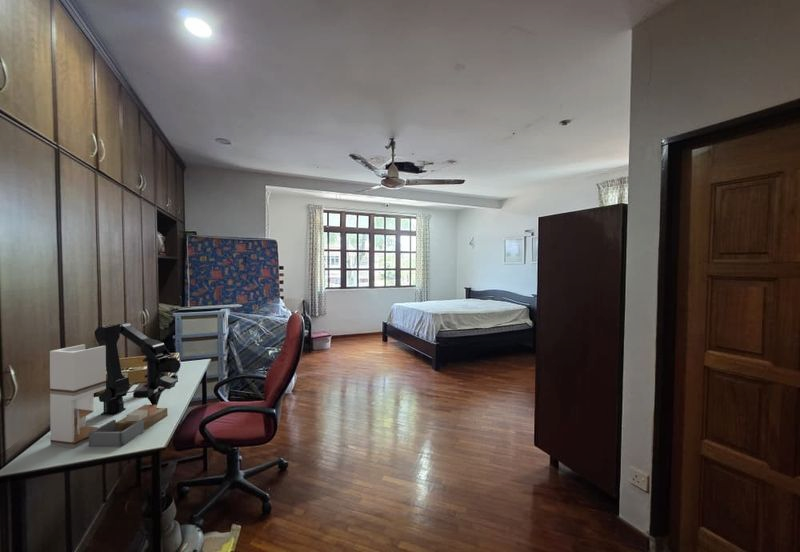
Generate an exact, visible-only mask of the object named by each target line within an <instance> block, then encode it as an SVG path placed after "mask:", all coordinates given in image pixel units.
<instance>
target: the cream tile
mask: <svg viewBox="0 0 800 552" xmlns="http://www.w3.org/2000/svg"><path fill="white" fill-rule="evenodd" d="M146 416H148V410H137V409H134V410H133V411H131V412H129V413H127V414H126V416H125V417H126V421H140V420H142V419H143V418H145V417H146Z"/></svg>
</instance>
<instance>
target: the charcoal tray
mask: <svg viewBox="0 0 800 552" xmlns="http://www.w3.org/2000/svg"><path fill="white" fill-rule="evenodd" d="M116 422H117V420H116V419H112V420H110V421H108V422H106V423H104V424H103V425H101V426H99V428H97V429H95V430H93V431H92V432H90V433H89V442H88V447H112V448H113V447H114V448H117V447H118V448H119V447H123V446H125V445H127V444H128V443H129V442H131V441H132V440H134V439H136V438H137V437H139V436H140V435H142V434H143V433H144V432H145V431H144V420H140V421H138V422H137V423H135V424H133V425H132V426H130V427H129V428H127V429H125V430H124V431H116ZM138 435H139V436H138ZM135 437H136V438H135Z"/></svg>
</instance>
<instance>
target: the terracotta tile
mask: <svg viewBox="0 0 800 552" xmlns="http://www.w3.org/2000/svg"><path fill="white" fill-rule="evenodd" d="M157 406H158V404H157V405H152V404H143V405H142V406H140V407H138V408H137V409H136V410H148V415H150V414H151V413H153V412H155V411H156V410H157V408H158V407H157Z"/></svg>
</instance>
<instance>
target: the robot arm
mask: <svg viewBox="0 0 800 552" xmlns="http://www.w3.org/2000/svg"><path fill="white" fill-rule="evenodd" d="M121 335H122V336H123V337H125V338H127V339H128V340H129V341H130V342H132V343H133V344H135V346H138V348H140V352H141V353H142V354H143V355H144V356H145V358H143V359H142V362H145V363H146V374H144V379H145V378H146V383H147V384H146V383H144V385H145V387H148V388H142V387H141V388H139V389H137V390H134V391H133V393H132V398H134V399H148V401H149V402H150V405H157V406H158V404H159V400H160V397H161V396H162V393H163V392H165V390H171V389H172V388H174V387H175V386H176V384H177V383H179V377H178V374H175V373H177V372H179V370H180V368H181V366H182V365H181V362H180V359H179V360H178V358H177V356H172V355H171V353H170V351H169V350H168V348H167V346H166V345H165V343H164V342H162V341H160V340H158V339H153V338H150V337H148V336H147V335H145V334H144V333H142V332H141V331H140V330H138V329H137V328H135V327H133V326H132V324H131V323H129V322H122V323H118V324H108V325H102V326H98V327H97V328H96V329H95V330H94V337H95V339H96V342H97V343H98V344H99V345H100V346H106V377H107V378H106V389H104V390H103V392H102V393H101V394H100V395H98V401H99V403H103V412H101V413H100V415H101V416H102V415H103V416H104V415H105V416H109V415H110V416H115V415H117V414H119V413H121V412H123V411H125V410H127V409H126V407H125V400H124V397H126V396H127V394H128V391H129V390H130V386H131V384H130V379H129V377H128V376H124V375H123V372H122V367H121V362H120V355H119V349H118V342H119V340H120V338H121V337H120V336H121ZM156 356H157V357H156ZM169 373H171V374H172V375H171V376H170V375H168V376H167V374H169Z"/></svg>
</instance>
